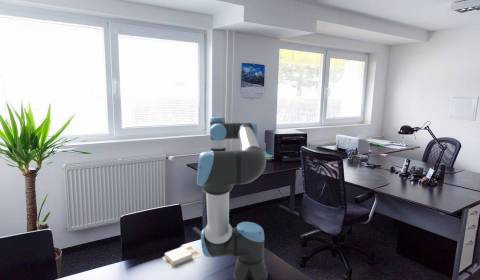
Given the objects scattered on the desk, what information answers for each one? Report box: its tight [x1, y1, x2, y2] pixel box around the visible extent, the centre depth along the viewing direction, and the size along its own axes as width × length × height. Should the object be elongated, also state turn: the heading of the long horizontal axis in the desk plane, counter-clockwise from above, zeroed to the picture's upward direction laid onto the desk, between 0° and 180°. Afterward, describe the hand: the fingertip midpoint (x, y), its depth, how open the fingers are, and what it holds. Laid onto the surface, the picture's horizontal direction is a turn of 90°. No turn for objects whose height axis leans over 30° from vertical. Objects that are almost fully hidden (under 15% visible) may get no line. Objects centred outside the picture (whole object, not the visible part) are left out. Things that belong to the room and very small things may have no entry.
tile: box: [164, 245, 192, 266], centre depth 144 cm, size 9×2×10 cm
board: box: [161, 246, 203, 269], centre depth 145 cm, size 11×16×1 cm
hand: (218, 191), depth 155 cm, fingers closed
